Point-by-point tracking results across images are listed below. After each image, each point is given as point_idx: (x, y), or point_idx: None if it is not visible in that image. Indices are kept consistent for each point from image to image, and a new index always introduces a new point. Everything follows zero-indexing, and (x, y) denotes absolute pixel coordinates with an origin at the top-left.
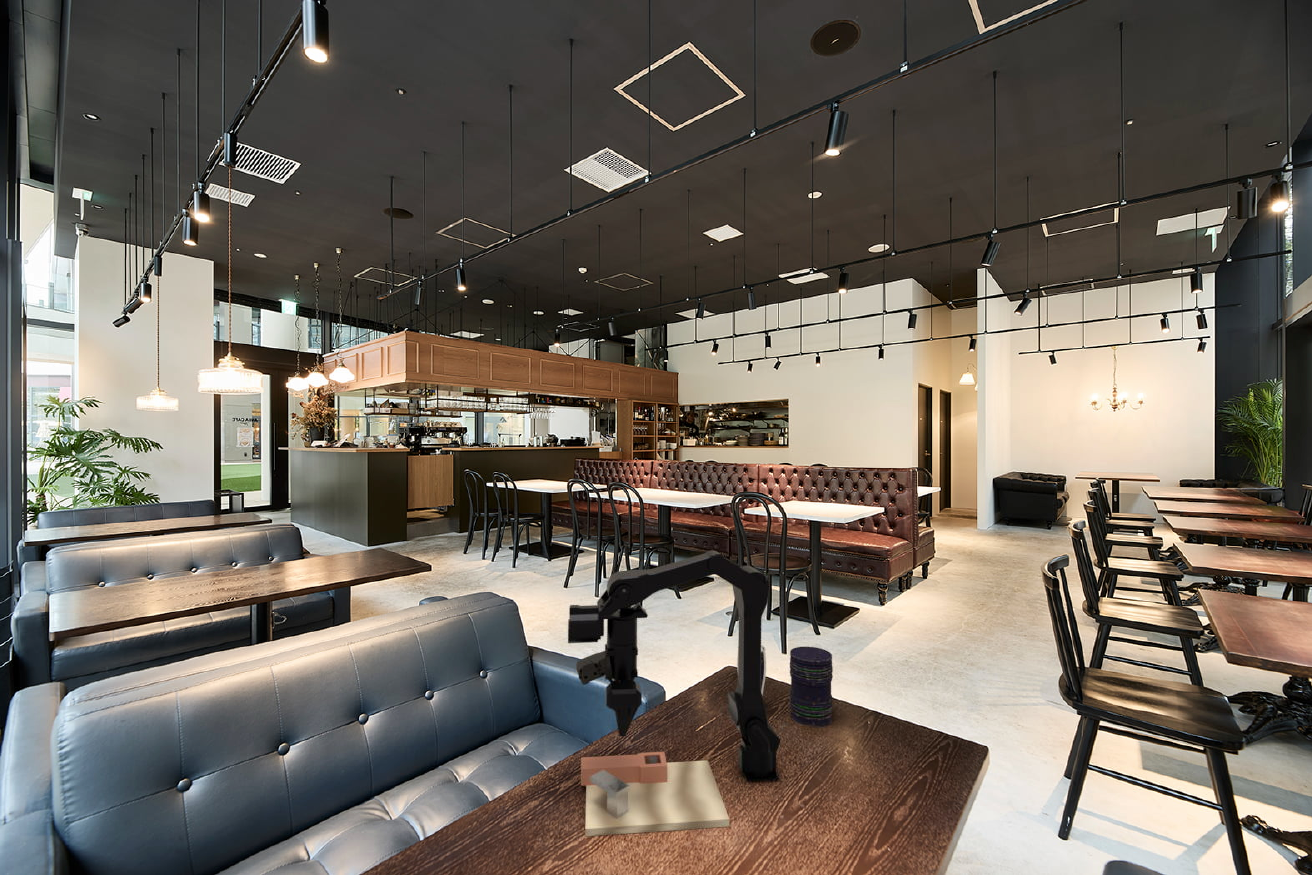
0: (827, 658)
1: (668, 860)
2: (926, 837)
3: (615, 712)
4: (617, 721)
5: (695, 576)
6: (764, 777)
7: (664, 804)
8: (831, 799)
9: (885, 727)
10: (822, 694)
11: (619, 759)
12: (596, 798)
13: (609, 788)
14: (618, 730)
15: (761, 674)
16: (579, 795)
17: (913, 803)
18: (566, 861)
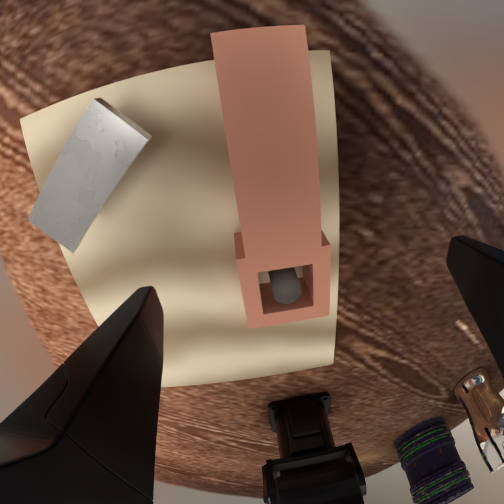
0: None
1: (24, 293)
2: (177, 481)
3: (3, 424)
4: (68, 361)
5: None
6: (274, 421)
7: None
8: (229, 456)
9: (369, 471)
10: (407, 476)
11: (290, 180)
12: (143, 108)
13: (40, 192)
14: (117, 308)
15: (476, 444)
16: (196, 43)
17: (229, 484)
18: None
